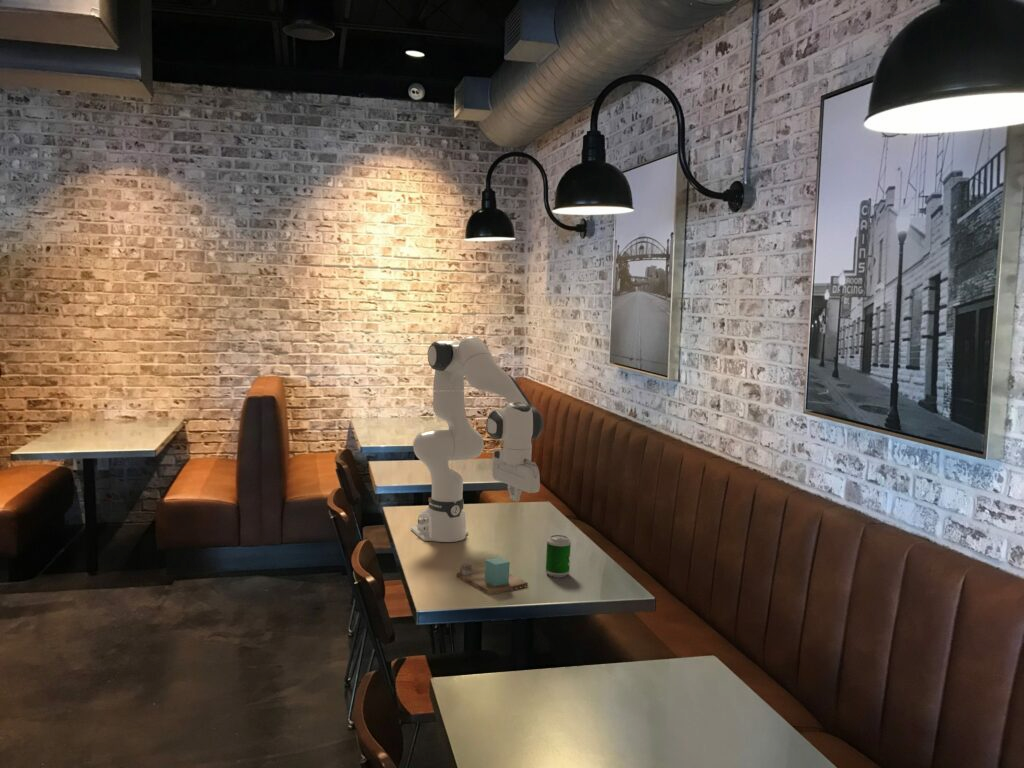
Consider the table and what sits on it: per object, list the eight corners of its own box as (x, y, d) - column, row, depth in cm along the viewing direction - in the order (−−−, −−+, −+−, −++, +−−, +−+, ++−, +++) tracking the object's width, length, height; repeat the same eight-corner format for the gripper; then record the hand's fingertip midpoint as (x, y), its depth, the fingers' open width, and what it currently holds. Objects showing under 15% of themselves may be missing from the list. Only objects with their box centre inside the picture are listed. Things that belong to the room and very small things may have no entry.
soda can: (567, 579, 252) (569, 542, 251) (543, 576, 253) (545, 539, 252) (570, 571, 259) (572, 535, 258) (547, 569, 261) (549, 533, 259)
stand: (456, 576, 250) (457, 553, 249) (493, 569, 259) (494, 547, 258) (489, 594, 236) (490, 571, 235) (527, 586, 244) (528, 563, 243)
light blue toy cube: (484, 581, 244) (485, 559, 243) (498, 578, 247) (499, 557, 246) (494, 586, 240) (495, 564, 239) (508, 583, 243) (509, 562, 242)
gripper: (546, 462, 239) (543, 507, 241) (506, 448, 256) (503, 491, 257) (529, 464, 236) (526, 510, 237) (489, 450, 252) (487, 493, 254)
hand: (514, 500), depth 247 cm, fingers closed
